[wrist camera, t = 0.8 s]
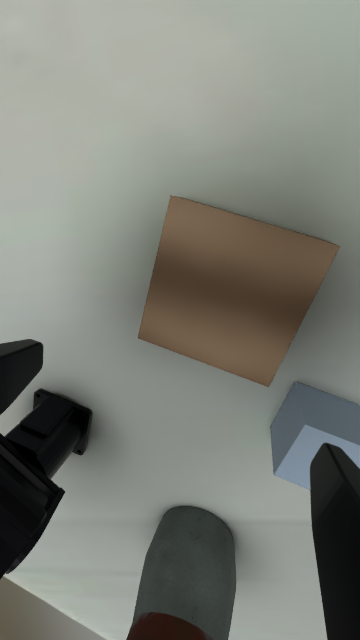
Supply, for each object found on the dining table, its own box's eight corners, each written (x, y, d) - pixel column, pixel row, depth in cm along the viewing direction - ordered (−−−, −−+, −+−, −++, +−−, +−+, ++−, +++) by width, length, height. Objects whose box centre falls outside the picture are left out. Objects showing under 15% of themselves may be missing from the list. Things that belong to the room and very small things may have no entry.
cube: (327, 448, 24) (344, 504, 19) (270, 425, 24) (273, 474, 20) (358, 404, 21) (386, 455, 17) (295, 380, 22) (305, 424, 18)
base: (267, 365, 22) (268, 387, 19) (151, 323, 23) (137, 338, 21) (327, 241, 18) (340, 246, 15) (182, 197, 19) (170, 195, 16)
